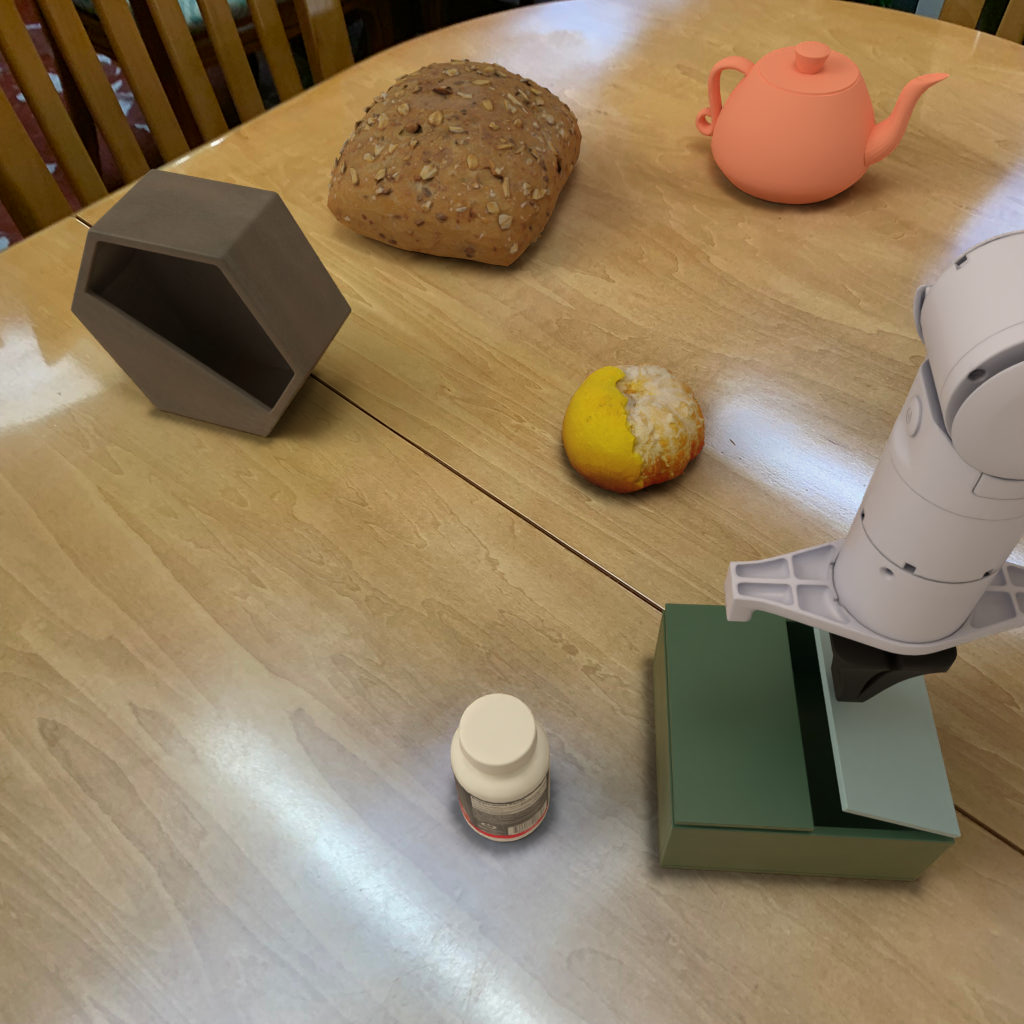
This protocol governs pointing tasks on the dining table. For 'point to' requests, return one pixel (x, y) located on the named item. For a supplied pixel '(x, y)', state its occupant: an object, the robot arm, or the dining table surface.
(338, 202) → the bread
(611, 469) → the fruit
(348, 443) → the dining table surface
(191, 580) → the dining table surface
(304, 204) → the dining table surface
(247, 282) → the planter
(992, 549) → the robot arm
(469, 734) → the pill bottle
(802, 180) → the teapot
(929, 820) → the hatch
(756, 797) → the seed box
